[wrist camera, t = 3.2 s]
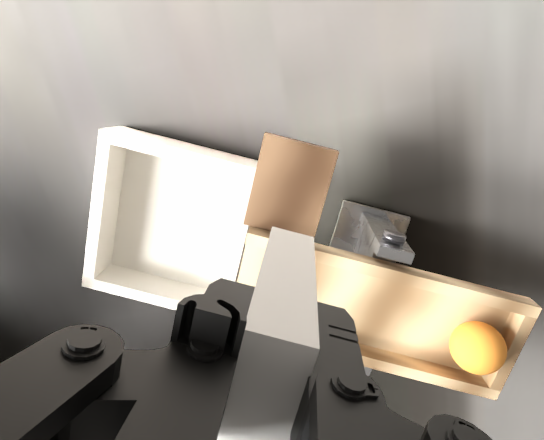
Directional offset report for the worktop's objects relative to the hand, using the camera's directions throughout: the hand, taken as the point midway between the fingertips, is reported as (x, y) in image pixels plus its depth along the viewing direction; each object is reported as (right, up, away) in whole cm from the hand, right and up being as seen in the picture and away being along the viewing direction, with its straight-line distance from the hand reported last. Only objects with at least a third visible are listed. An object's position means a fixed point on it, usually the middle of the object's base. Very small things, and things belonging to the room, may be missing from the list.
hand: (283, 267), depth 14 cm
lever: (+7, -1, +15) cm, 17 cm away
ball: (+14, -7, +13) cm, 20 cm away
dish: (-9, +2, +23) cm, 25 cm away
